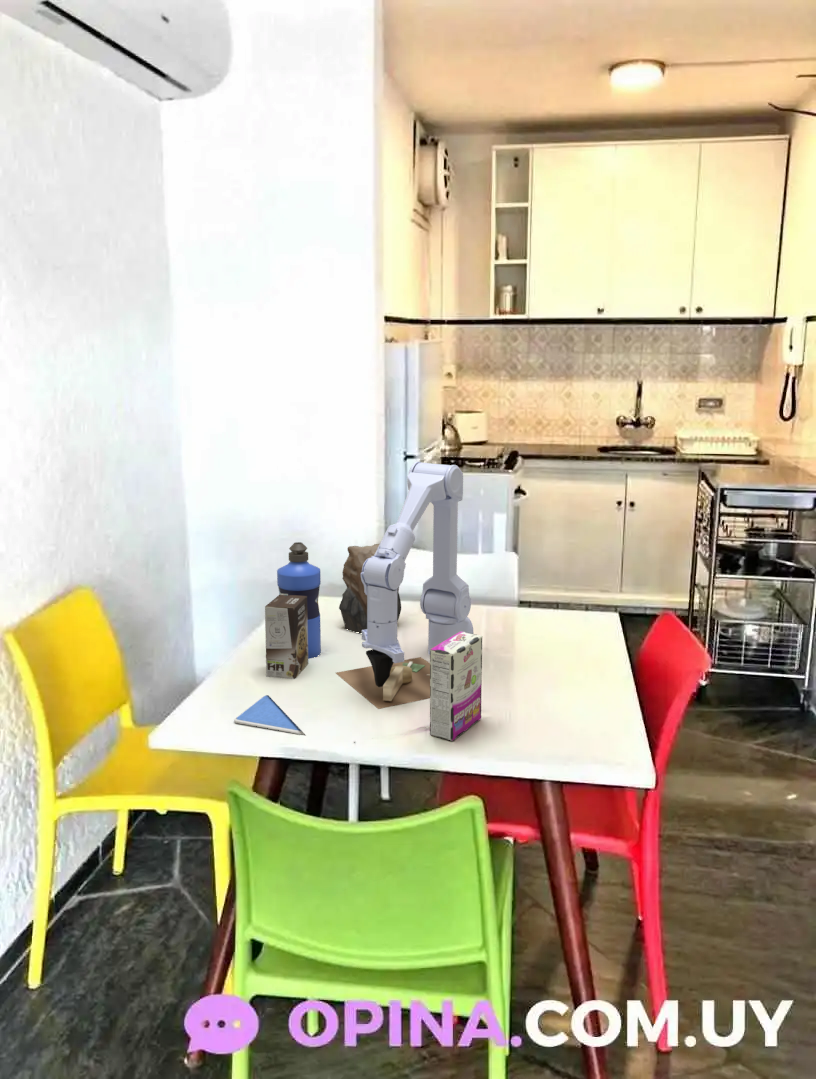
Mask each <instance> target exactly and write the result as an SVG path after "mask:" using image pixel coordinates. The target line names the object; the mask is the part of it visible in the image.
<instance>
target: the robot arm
mask: <svg viewBox="0 0 816 1079" xmlns="http://www.w3.org/2000/svg"><path fill="white" fill-rule="evenodd" d="M406 478H407V481H406V482H407V489H408V492H407V495H406V497H405V500H404V502H403V505H402V508H401V510H400V513H399V516H398V517H397V521H396V523H394V524H389V525H388V527H387V529H386V531H385V533H384V534H383V536H382V539H381V541H380V543H378V544H379V546H378V548H377V551H376V552H375V554H374V556H372V557H371V558H368V559H367V560H366V561H365V562H364V564H363V567H362V573H361V580H362V583H363V584H364V593H365V594H366V595H367V629H366V630H362V634H361V640H362V641H363V642H361V647H362V648H364V649H367V650H366V651H365V654H366V656H367V659H368V660H369V662H370V664H371V665H370V666H372V668H373V671H374V678H375V683H376V686H378V687H383V685H384V683H385V682H386V681H387V679H388V678H389V676H390V671H391V668H392V665H393V663H400V662H404V660H405V652H404V650H403V649H402V647H401V645H400V642H399V640H398V622H397V588H398V587H399V588H400V586H401V584H402V583H403V581H404V575H405V569H406V567H407V566H406V565H407V563H406V560H407V557H408V555H409V553H410V551H411V549H412V547H413V545H414V542H415V540H416V536H415V533H414V530H415V528H416V526H417V525H418V523H419V521H420V520H421V518H422V516H423V514H424V513H425V511H426V509H427V508H428V506H429V504H432V505H433V526H432V527H433V528H432V529H433V530H432V531H433V532H432V533H433V534H432V535H433V536H432V537H433V538H432V542H433V543H432V551H433V552H432V576H431V577H429V578H428V579H426V580H425V581H424V582H423V583H422V592H421V595H420V600H419V605H420V609H421V612H422V613H423V614H424V615H425V619H427V620H428V631H427V632H428V636H427V637H428V639H427V644H428V645H427V648H428V649H427V653H428V655H429V656H430V649H431V648H433V647H435V646H437V645H438V644H440V643H442V642H443V641H445V640H447V639H448V638H450V637H452V636H453V635H455V634H457V633H458V632H467V633H472V634H474V626H473V623H472V620H471V618H470V617H468V616H469V613H470V612H471V606H472V601H471V597H470V589H469V584H468V583H467V582H466V581H465V580H463V578H461V577H460V576H459V575H458V572H457V571H458V520H459V519H458V516H459V515H458V514H459V513H458V510H459V502H462V501H463V497H464V473H463V471H462V470H461V469H460V467H459V466H458V465H456V464H451V465H450V464H440V463H430V462H421V461H415V462H413V463H412V465H411V466H410V469H409V471H408V474H407V477H406Z"/></svg>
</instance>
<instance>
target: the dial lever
mask: <svg viewBox="0 0 816 1079" xmlns="http://www.w3.org/2000/svg"><path fill="white" fill-rule="evenodd" d="M412 664H413V662H411V661H410V662H409V664H408V665H407V666H395V667H392V668H391V671H390V676H389V678H388V679H387V681H386V682H385V683H384V685H383V700H385V701H392V699H393V698H394V696H395V695H396V693H397V691H398V690H399V688H400V687H401V685H402V683H408V682H410V681H412V669H411V668H410V667H411V665H412Z"/></svg>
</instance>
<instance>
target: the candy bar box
mask: <svg viewBox="0 0 816 1079" xmlns="http://www.w3.org/2000/svg"><path fill="white" fill-rule="evenodd" d="M429 659H430V660H429V663H430V698H429V734H430V735H431V736H432V737H434V736H435V738H438V737H440V738H439V739H442V738H443V740H447V741H449V740H450V742H453V740H454V741H455V740H456V739H457V738H459V737H460V736H461V735H463V734H464V733H465V732H467V730H468V728H469V729H471V727H472V726H474V725H475V724H476V723H478V722H479V721H480V720H482V681H483V680H482V675H483V635H480V634H475V633H473V634H472V633H467V632H458V633H457V634H455V635H453V636H452V637H450V638H448V639H447V640H445V641H443V642H442V643H440V644H438V645H437V646H435V647H433V648H431V649H430V655H429ZM463 732H464V733H463ZM458 736H459V737H458Z"/></svg>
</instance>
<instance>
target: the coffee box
mask: <svg viewBox="0 0 816 1079" xmlns="http://www.w3.org/2000/svg"><path fill="white" fill-rule="evenodd" d="M264 617H265V618H264V620H265V621H264V624H265V627H264V630H265V664H266V665H265V668H266V669H265V670H266V674H265V676H266V677H267V678H279V679H290V680H295V679H297V678H298V676H300V674H301V673H302V672H303V671H304V669H305V668H307V666H308V665H309V659H308V618H307V596H298V595H279V594H278V595H277V596H276V597H275V598H273V599H272V600H271V601H270V602H269V603H267V604H266V605H265V606H264Z"/></svg>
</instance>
